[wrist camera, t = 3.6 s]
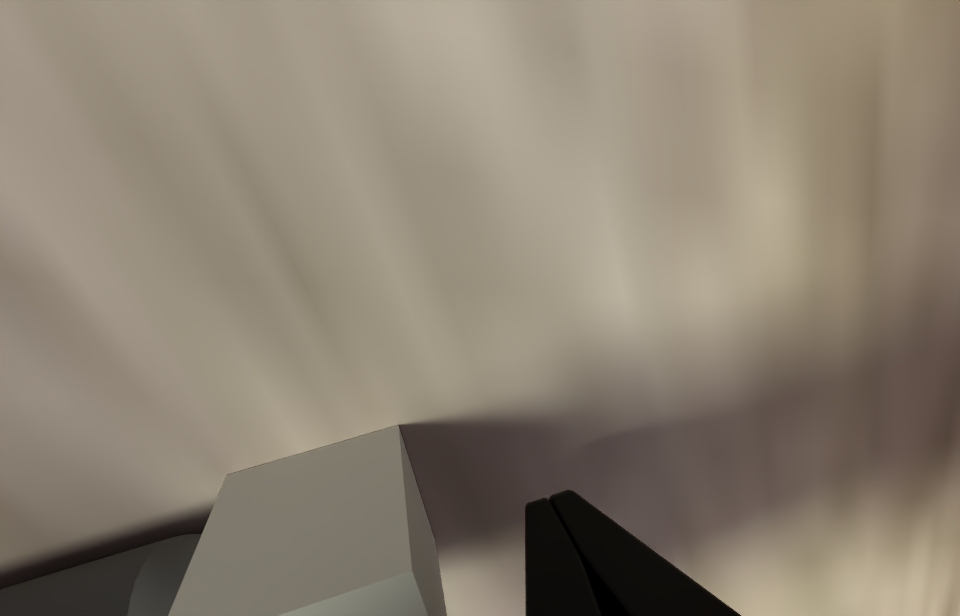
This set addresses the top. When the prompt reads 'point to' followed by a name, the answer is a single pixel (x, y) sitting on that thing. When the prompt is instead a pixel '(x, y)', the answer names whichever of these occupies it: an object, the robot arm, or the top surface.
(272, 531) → the grey bar
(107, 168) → the top surface
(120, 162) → the top surface
